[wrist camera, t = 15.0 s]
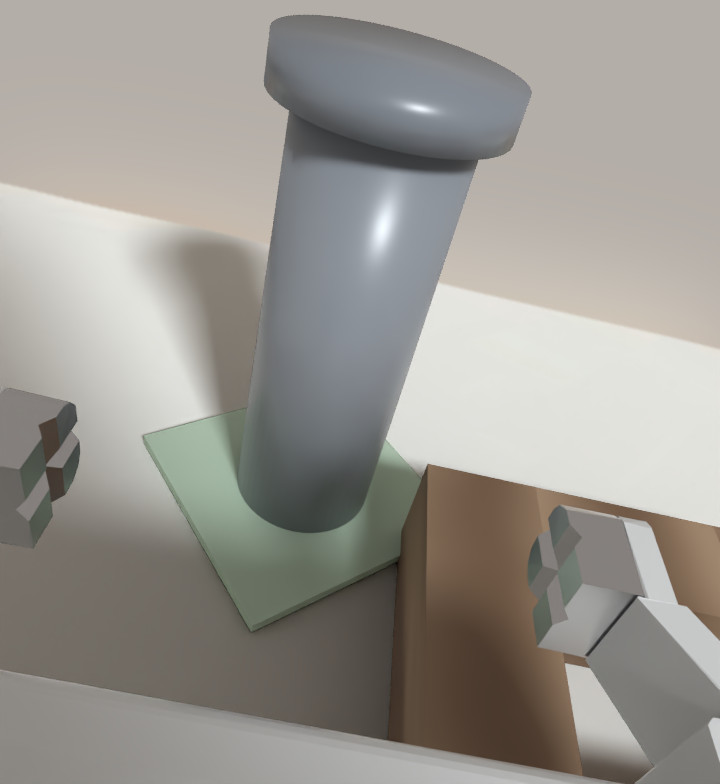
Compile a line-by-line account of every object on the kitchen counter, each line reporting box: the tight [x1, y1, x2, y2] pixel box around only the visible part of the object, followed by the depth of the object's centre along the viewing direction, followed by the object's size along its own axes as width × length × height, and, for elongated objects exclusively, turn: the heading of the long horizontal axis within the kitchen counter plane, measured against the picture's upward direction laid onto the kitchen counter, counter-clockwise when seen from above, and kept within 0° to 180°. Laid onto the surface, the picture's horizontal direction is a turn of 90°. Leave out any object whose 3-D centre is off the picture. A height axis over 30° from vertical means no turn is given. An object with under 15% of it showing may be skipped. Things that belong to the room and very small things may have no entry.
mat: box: [144, 408, 421, 632], centre depth 25 cm, size 9×9×1 cm
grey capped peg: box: [238, 15, 532, 533], centre depth 20 cm, size 6×6×15 cm
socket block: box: [388, 464, 720, 776], centre depth 18 cm, size 14×14×4 cm
